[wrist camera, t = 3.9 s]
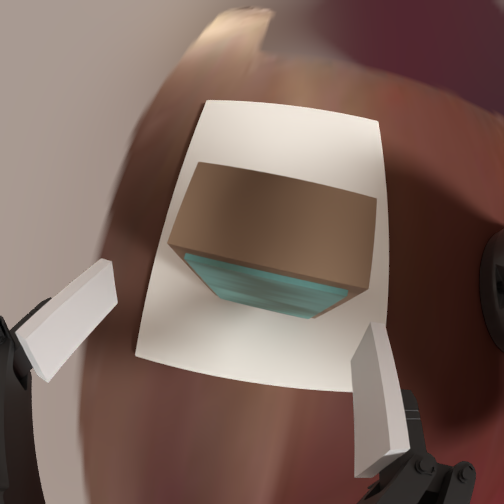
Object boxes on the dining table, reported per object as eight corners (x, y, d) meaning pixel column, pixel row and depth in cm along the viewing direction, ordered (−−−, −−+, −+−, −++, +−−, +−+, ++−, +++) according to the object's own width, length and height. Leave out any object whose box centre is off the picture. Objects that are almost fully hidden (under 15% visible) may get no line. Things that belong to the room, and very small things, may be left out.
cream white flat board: (207, 104, 30) (206, 100, 29) (376, 125, 28) (378, 121, 28) (138, 355, 22) (134, 355, 21) (373, 391, 20) (377, 392, 19)
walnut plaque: (324, 270, 23) (376, 198, 11) (314, 321, 21) (367, 295, 10) (228, 248, 24) (198, 161, 12) (214, 298, 22) (165, 249, 11)
